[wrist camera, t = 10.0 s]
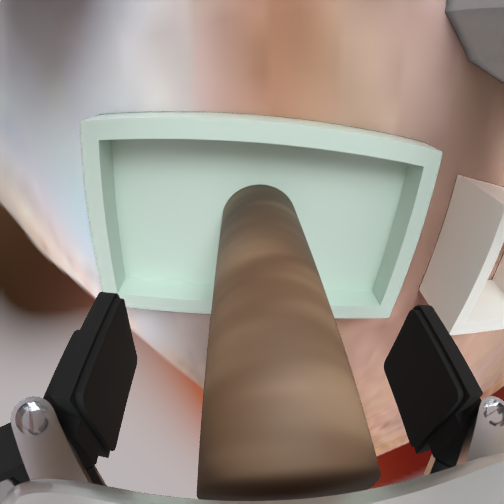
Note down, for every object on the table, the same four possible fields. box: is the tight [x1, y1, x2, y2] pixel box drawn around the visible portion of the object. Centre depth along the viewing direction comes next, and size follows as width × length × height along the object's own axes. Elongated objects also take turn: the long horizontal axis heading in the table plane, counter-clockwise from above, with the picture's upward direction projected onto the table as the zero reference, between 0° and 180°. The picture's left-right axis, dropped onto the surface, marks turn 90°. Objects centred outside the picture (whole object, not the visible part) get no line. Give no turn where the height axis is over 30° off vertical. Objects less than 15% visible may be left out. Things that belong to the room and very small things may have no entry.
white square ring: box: [419, 175, 504, 335], centre depth 17 cm, size 9×9×5 cm
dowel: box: [197, 184, 381, 501], centre depth 11 cm, size 4×4×14 cm
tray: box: [80, 111, 443, 318], centre depth 17 cm, size 18×11×2 cm, turn 85°
